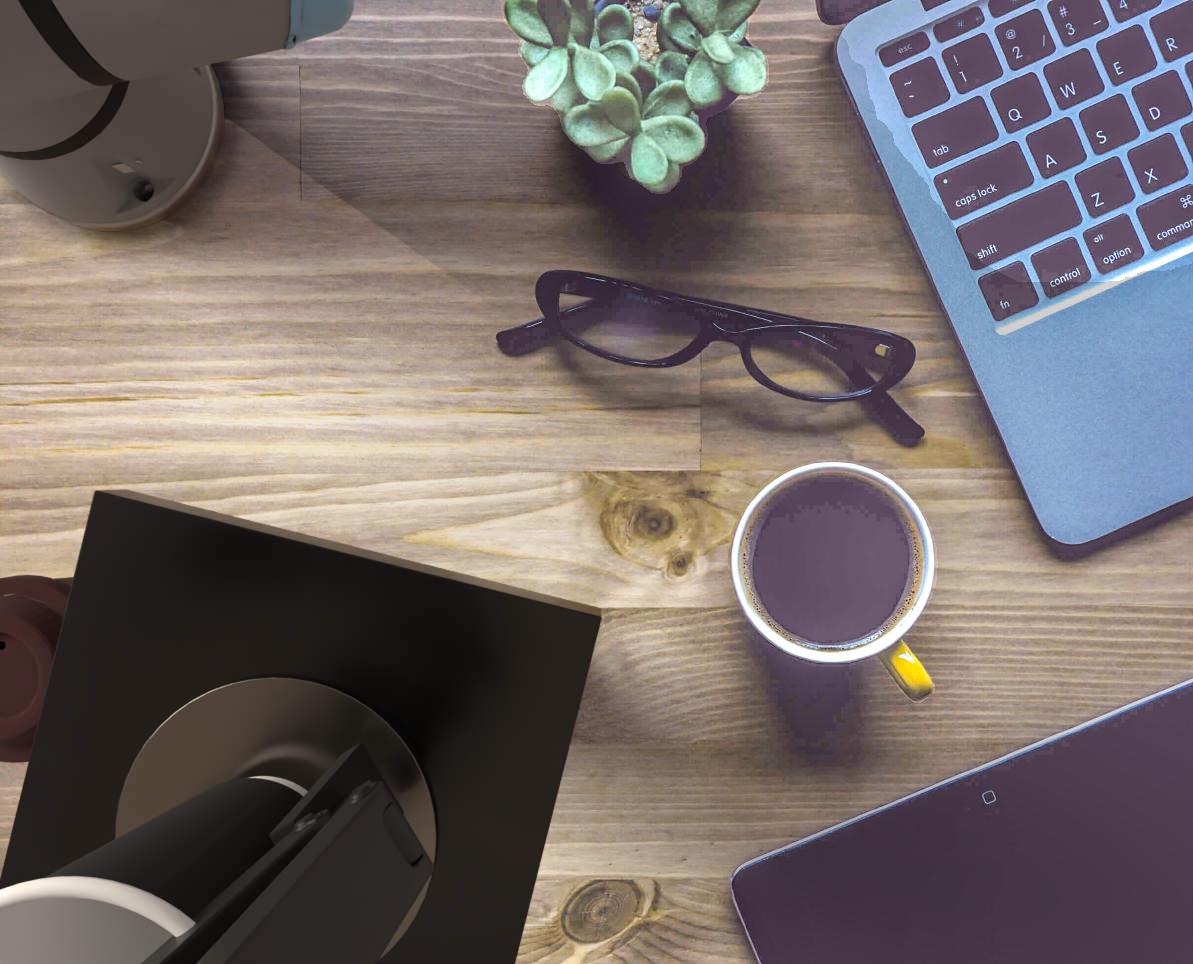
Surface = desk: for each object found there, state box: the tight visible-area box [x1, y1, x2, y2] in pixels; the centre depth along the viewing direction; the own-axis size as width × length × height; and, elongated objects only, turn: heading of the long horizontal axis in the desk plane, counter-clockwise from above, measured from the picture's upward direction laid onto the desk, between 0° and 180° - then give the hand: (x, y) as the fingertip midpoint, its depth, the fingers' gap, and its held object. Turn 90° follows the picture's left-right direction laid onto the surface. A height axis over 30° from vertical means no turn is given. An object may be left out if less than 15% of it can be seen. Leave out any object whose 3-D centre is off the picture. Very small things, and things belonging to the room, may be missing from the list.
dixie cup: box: [0, 776, 308, 964], centre depth 24 cm, size 8×8×11 cm
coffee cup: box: [0, 574, 74, 764], centre depth 53 cm, size 10×10×15 cm
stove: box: [0, 488, 603, 964], centre depth 31 cm, size 20×18×4 cm
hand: (261, 850), depth 29 cm, fingers closed on dixie cup, 8 cm apart
